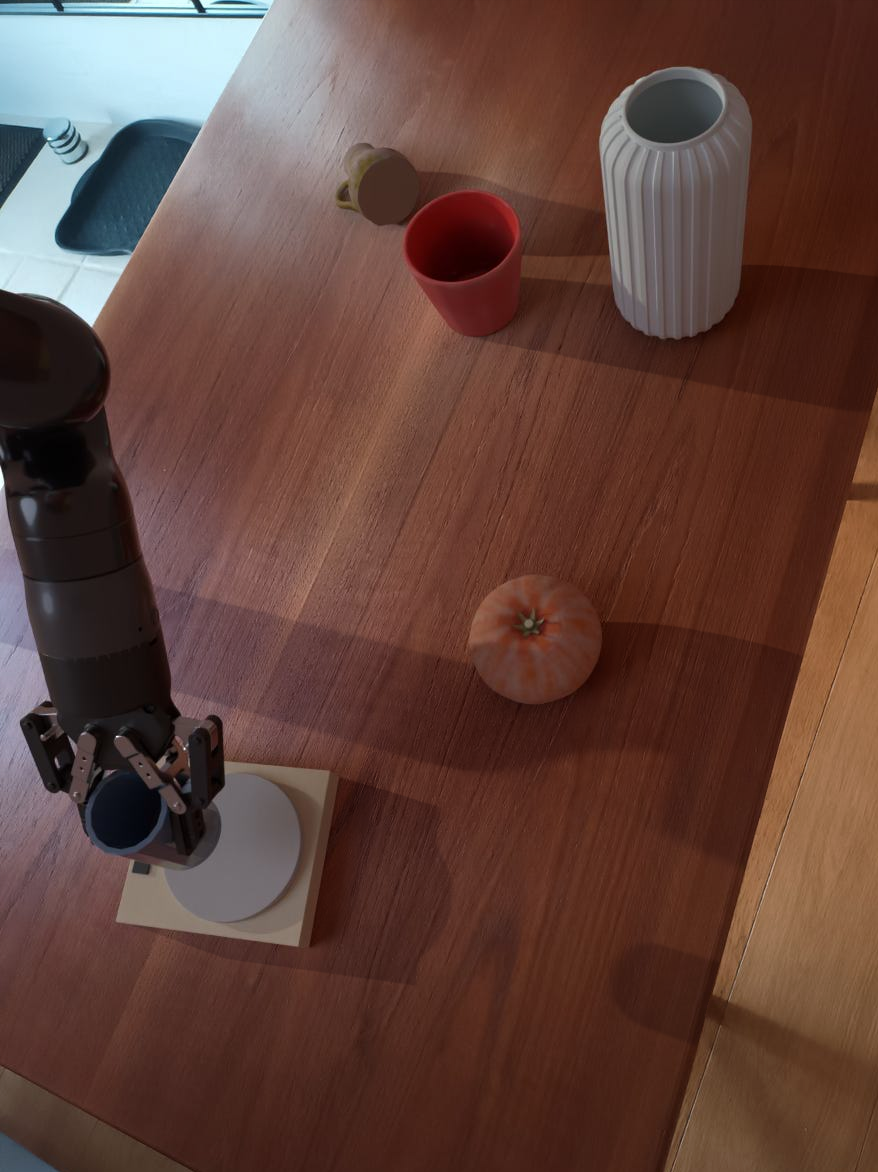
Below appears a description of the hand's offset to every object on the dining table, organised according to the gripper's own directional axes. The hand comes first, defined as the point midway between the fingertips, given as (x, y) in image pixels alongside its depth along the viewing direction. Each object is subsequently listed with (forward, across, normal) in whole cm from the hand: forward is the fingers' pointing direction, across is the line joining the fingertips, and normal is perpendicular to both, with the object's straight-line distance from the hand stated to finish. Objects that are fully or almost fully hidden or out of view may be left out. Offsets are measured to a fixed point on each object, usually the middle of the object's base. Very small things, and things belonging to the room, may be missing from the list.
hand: (147, 843), depth 70 cm
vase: (-30, +33, +50) cm, 67 cm away
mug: (-40, +1, +60) cm, 72 cm away
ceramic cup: (+2, 0, +5) cm, 5 cm away
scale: (+9, 0, +11) cm, 14 cm away
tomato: (-4, +24, +25) cm, 35 cm away
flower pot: (-30, +14, +50) cm, 60 cm away
